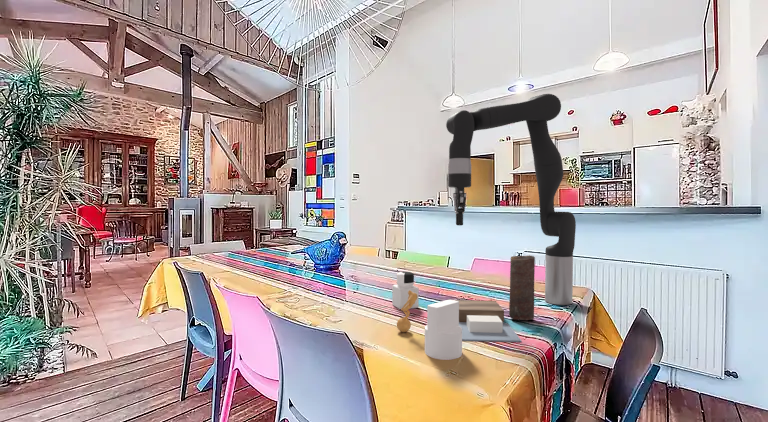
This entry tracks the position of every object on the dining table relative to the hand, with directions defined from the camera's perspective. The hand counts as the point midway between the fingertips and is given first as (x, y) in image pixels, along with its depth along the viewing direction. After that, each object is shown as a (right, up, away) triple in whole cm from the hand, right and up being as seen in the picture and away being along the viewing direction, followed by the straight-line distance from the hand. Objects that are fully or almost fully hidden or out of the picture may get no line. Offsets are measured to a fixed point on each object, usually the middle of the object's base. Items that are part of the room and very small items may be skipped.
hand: (459, 225), depth 131 cm
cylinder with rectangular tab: (-11, -30, -35) cm, 47 cm away
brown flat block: (+5, -29, -6) cm, 30 cm away
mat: (+4, -29, -20) cm, 36 cm away
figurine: (-19, -30, -20) cm, 40 cm away
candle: (+18, -29, -8) cm, 35 cm away
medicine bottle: (-18, -29, +8) cm, 35 cm away
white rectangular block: (+4, -28, -18) cm, 33 cm away
